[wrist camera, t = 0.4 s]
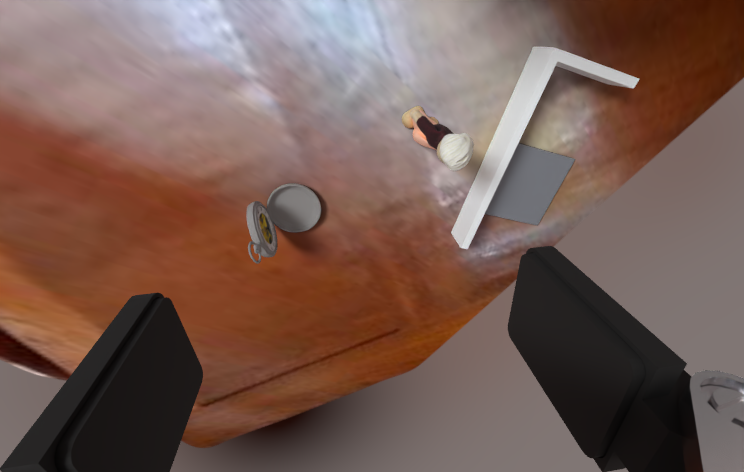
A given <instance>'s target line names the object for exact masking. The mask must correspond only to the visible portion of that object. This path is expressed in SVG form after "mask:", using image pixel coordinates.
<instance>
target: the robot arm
mask: <svg viewBox="0 0 744 472" xmlns="http://www.w3.org/2000/svg"><path fill="white" fill-rule="evenodd" d="M508 332H509V336H510V338H511V340H512V341H513V343H514V344H515V346H516V348H517V349H518V351H519V352H520V354H521V355H522V357H523V359H524V360H525V362H526V363H527V365H528V366H529V368H530V369H531V371H532V373H533V374H534V376H535V377H536V379H537V381H538V382H539V384H540V385H541V387H542V388H543V390H544V392H545V393H546V395H547V396H548V398H549V399H550V401H551V402H552V404H553V406H554V407H555V409H556V410H557V412H558V413H559V415H560V417H561V418H562V420H563V421H564V423H565V424H566V426H567V428H568V429H569V431H570V432H571V434H572V435H573V437H574V439H575V440H576V442H577V443H578V445H579V446H580V448H581V449H582V451H583V452H584V453H585V454H586V455H587V456H588V457H590V458H593V459H594V460H595V462H596V463H597V465H598V466H599V468H600V469H601V471H602V472H607V471H613V470H618V469H623V468H627V470H628V471H629V472H744V378H741V377H738V376H736V375H733V374H729V373H725V372H720V371H710V370H705V371H701V372H697V373H695V374H694V375H693V376H692V377H691V376H690V375H689V374H688V373H687V372H686V371H684V368H685V366H686V364H687V363H686V362H684V361H683V360H682V359H681V358H680V357H679V356H677V355H676V354H675V353H674V352H673V351H672V350H671V349H670V348H668V347H667V346H666V345H665V344H664V343H663V342H662V341H660V340H659V339H658V338H657V337H656V336H655V335H654V334H653V333H651V332H650V331H649V330H648V329H647V328H646V327H645V326H643V325H642V324H641V323H640V322H639V321H638V320H637V319H635V318H634V317H633V316H632V315H631V314H630V313H628V312H627V311H626V310H625V309H624V308H623V307H622V306H621V305H619V304H618V303H617V302H616V301H615V300H614V299H612V298H611V297H610V296H609V295H608V294H607V293H605V292H604V291H603V290H602V289H601V288H600V287H599V286H597V285H596V284H595V283H594V282H593V281H592V280H591V279H590V278H589V277H587V276H586V275H585V274H584V273H583V272H582V271H581V270H579V269H578V268H577V267H576V266H575V265H574V264H573V263H571V262H570V261H569V260H568V259H567V258H566V257H565V256H563V255H562V254H561V253H560V252H559V251H558V250H557V249H556V248H554V247H552V246H545V247H537V248H530V249H528V251H527V252H526V254H524V255H522V257H521V260H520V265H519V270H518V276H517V281H516V286H515V291H514V296H513V302H512V307H511V312H510V317H509V323H508ZM202 379H203V371H202V367H201V365H200V363H199V360H198V358H197V356H196V354H195V352H194V349H193V347H192V345H191V343H190V341H189V338H188V336H187V334H186V332H185V330H184V327H183V325H182V323H181V321H180V319H179V316H178V314H177V312H176V310H175V308H174V305H173V303H172V301H171V300H170V299H169V298H167V297H166V298H164V296H163V295H162V294H161V293H151V294H143V295H135V296H132V297H131V298H130V299H129V300H128V302H127V303H126V304H125V305H124V307H123V308H122V309H121V311H120V312H119V313H118V315H117V316H116V317H115V319H114V320H113V321H112V322H111V324H110V325H109V326H108V328H107V329H106V330H105V332H104V333H103V334H102V336H101V337H100V338H99V339H98V341H97V342H96V343H95V345H94V346H93V347H92V349H91V350H90V351H89V353H88V354H87V355H86V356H85V358H84V359H83V360H82V362H81V363H80V364H79V366H78V367H77V368H76V370H75V371H74V372H73V373H72V375H71V376H70V377H69V379H68V380H67V381H66V383H65V384H64V385H63V387H62V388H61V389H60V390H59V392H58V393H57V394H56V396H55V397H54V398H53V400H52V401H51V402H50V404H49V405H48V406H47V407H46V409H45V410H44V412H43V413H42V414H41V415H40V417H39V418H38V419H37V421H36V422H35V423H34V424H33V426H32V427H31V428H30V430H29V431H28V432H27V434H26V435H25V436H24V438H23V439H22V440H21V442H20V443H19V444H18V446H17V447H16V448H15V449H14V451H13V452H12V453H11V455H10V456H9V457H8V459H7V460H6V461H5V463H4V464H3V465H2V466H1V468H0V470H1V471H2V472H170V469H171V466H172V464H173V461H174V458H175V455H176V453H177V450H178V447H179V444H180V441H181V439H182V436H183V433H184V430H185V428H186V425H187V422H188V419H189V416H190V414H191V411H192V408H193V405H194V403H195V400H196V397H197V394H198V392H199V389H200V386H201V383H202Z"/></svg>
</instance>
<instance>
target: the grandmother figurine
mask: <svg viewBox="0 0 744 472" xmlns="http://www.w3.org/2000/svg"><path fill="white" fill-rule="evenodd" d="M402 123H403V124H404V126H405V127H407V128H413V127H414V131H413V138H414V140H415V141H416V142H417V143H419V144H420V145H422V146H425V147H429V148H432V149H435V150H437V156H438V158H439V160H440V161H441V162H443V163H444V164H445V165H447V167H448V168H449V169H450V170H452V171H458V170H460V169H462V168H463V167H464V166H466V164H467V163H468V162H469V161H470V158H471V156H472V153H473V145H474V144H473V139H472V138H471V137H470V136H469V135H468V134H467V133H462V134H460V135H458V134H454V133H452V132H451V131H450V130H449V129H448V128H447V127H445V126H443V125H441V124H438V120H437V119H435V118H434V117H428V116H427V115H426V114H425V113H424V110H423V109H422V107H420V106H416V107H414V108H412V109H410V110H409V111H407V112H406V113H404V115H403V116H402Z"/></svg>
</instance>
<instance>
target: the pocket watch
mask: <svg viewBox="0 0 744 472" xmlns="http://www.w3.org/2000/svg"><path fill="white" fill-rule="evenodd" d="M320 214H321V205H320V201H319V199H318V197H317V195H316V194H315V193H314V192H313V191H312V190H311V189H309V188H308V187H306V186H303V185H301V184H295V183H291V184H285V185H282V186H280V187H278V188H277V189H275V190H274V191H273V192H272V193H271V195H270V197H269V199H268V202H267V208H266V207H265V206H264V205H263V204H261V203H260V202H259V201H255V202H253V203H251V204H249V206H248V208H247V223H248V228H249V232H250V235H251V238H252V241H253V242H252V241H251V242H250V243H249V245H248V250H249V254H250V257H251V258H252V260H253V261H254V262H255V263H257V264H258V263H260V261H261V255H262V256H264V257H273V256H274V255H275V253H276V250H277V235H276V230H275V226H274V224H275V225H276V226H277V227H279V228H280V229H282V230H284V231H288V232H303V231H306V230H308V229H310V228H312V227H313V226H314V225H315V224H316V223H317V221H318V219H319V218H320ZM259 221H260V222H259ZM251 244H254V250H255V251H254V252H255V253H258V254H259V260H258V261H256V260H255V259H254V258H253V256H252V253H251V250H250V248H251Z"/></svg>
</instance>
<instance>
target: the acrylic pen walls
mask: <svg viewBox="0 0 744 472" xmlns="http://www.w3.org/2000/svg"><path fill="white" fill-rule="evenodd" d="M555 66H557V67H560V68H563V69H566V70H569V71H571V72H574V73H577V74H580V75H583V76H586V77H588V78H591V79H594V80H597V81H600V82H602V83H605V84H609V85H615V86H621V87H627V88H633V89H634V87H635V86H636V84H637V82H638V81H639V78H636V77H633V76H631V75H628V74H625V73H622V72H620V71H617V70H614V69H612V68H609V67H606V66H604V65H601V64H598V63H595V62H593V61H590V60H587V59H585V58H582V57H579V56H577V55H574V54H571V53H568V52H566V51H563V50H560V49H558V48H555V47H534V46H533V48H532V51H531V53H530V55H529V57H528V60H527V62H526V64H525V66H524V69H523V71H522V73H521V76H520V78H519V80H518V82H517V85H516V87H515V89H514V91H513V94H512V96H511V98H510V100H509V103H508V105H507V107H506V110H505V112H504V114H503V116H502V119H501V121H500V123H499V125H498V128H497V130H496V132H495V135H494V137H493V139H492V141H491V144H490V146H489V148H488V150H487V153H486V155H485V157H484V159H483V162H482V164H481V166H480V169H479V171H478V173H477V175H476V178H475V180H474V182H473V184H472V187H471V189H470V191H469V194H468V196H467V198H466V200H465V203H464V205H463V207H462V209H461V212H460V214H459V216H458V218H457V221H456V223H455V225H454V228H453V230H452V232H451V234H452V235H453V237H454V238H455V240H456V241H457V243H458V244H459V246H460V247H461V248H464V249H468V247H469V245H470V243H471V241H472V239H473V237H474V235H475V233H476V231H477V228H478V226H479V224H480V222H481V220H482V218H483V216H484V214H485V212H486V210H487V208H488V206H489V203H490V201H491V199H492V197H493V195H494V193H495V191H496V189H497V187H498V185H499V183H500V180H501V178H502V176H503V174H504V172H505V170H506V168H507V166H508V164H509V162H510V160H511V158H512V155H513V153H514V151H515V149H516V147H517V145H518V143H519V141H520V139H521V137H522V135H523V132H524V130H525V128H526V126H527V124H528V122H529V120H530V118H531V116H532V114H533V112H534V110H535V107H536V105H537V103H538V101H539V99H540V97H541V95H542V93H543V91H544V89H545V87H546V84H547V82H548V80H549V78H550V76H551V74H552V72H553V70H554V68H555Z"/></svg>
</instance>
